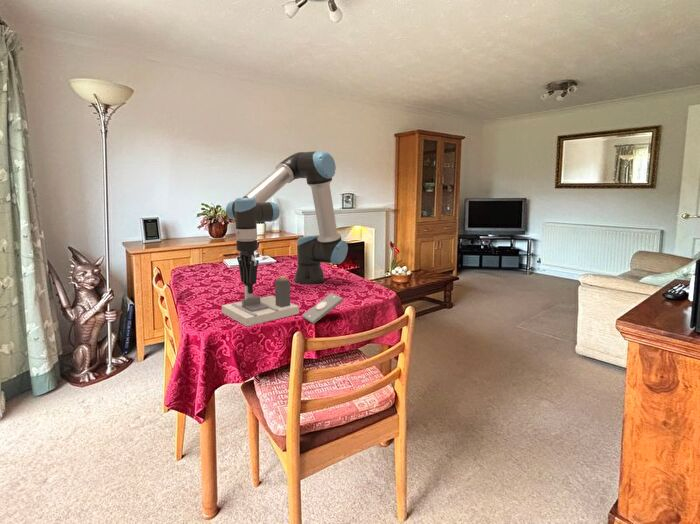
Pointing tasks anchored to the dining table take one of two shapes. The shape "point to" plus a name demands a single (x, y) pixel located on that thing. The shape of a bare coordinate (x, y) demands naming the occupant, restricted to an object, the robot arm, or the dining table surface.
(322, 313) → the light switch
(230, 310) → the socket board
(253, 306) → the shutter
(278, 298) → the plug
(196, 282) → the dining table surface
